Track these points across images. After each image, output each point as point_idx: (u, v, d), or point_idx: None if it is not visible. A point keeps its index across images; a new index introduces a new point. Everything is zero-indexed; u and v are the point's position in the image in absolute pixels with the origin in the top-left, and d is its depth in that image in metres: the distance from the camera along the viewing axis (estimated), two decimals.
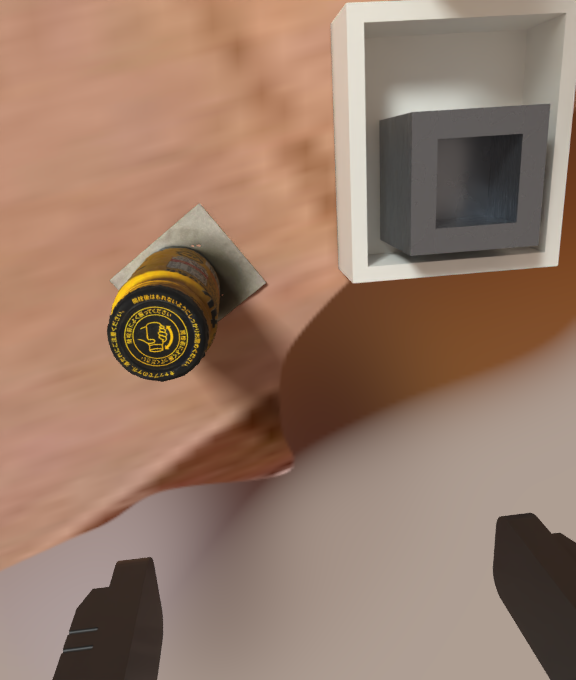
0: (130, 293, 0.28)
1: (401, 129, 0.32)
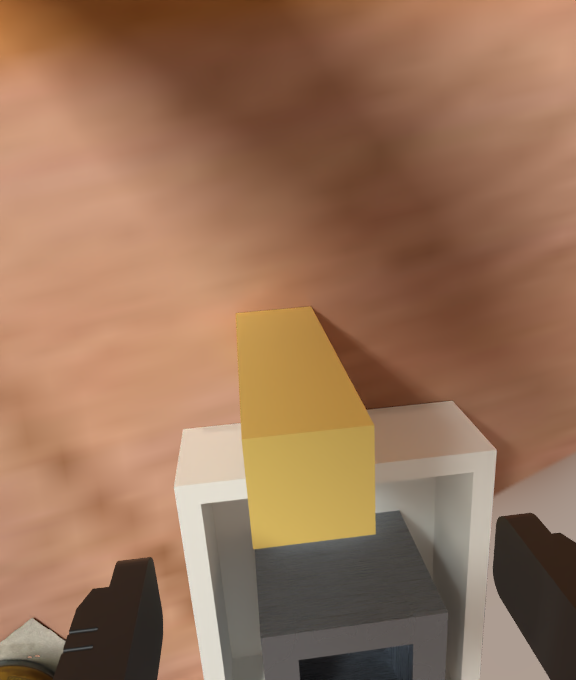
0: None
1: None
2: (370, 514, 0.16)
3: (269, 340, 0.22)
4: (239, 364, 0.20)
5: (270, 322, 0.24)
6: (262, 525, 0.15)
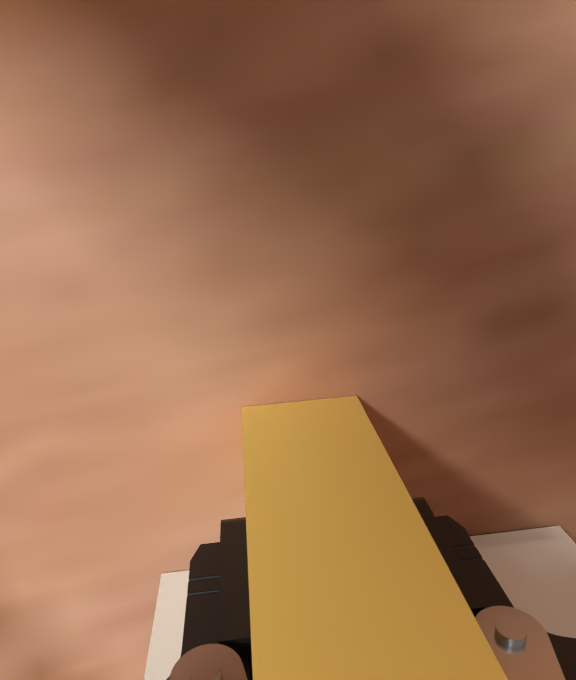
0: None
1: None
2: None
3: (300, 481, 0.13)
4: (250, 556, 0.10)
5: (297, 431, 0.15)
6: None
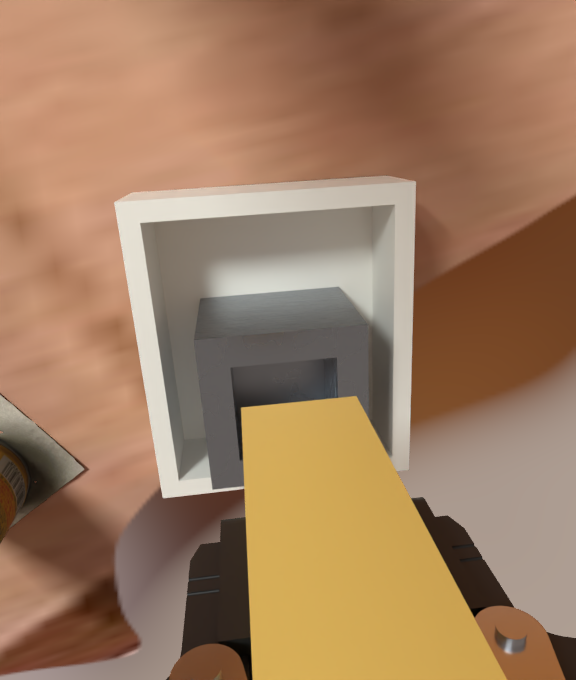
0: None
1: None
2: None
3: (299, 482, 0.13)
4: (249, 556, 0.10)
5: (297, 431, 0.15)
6: None
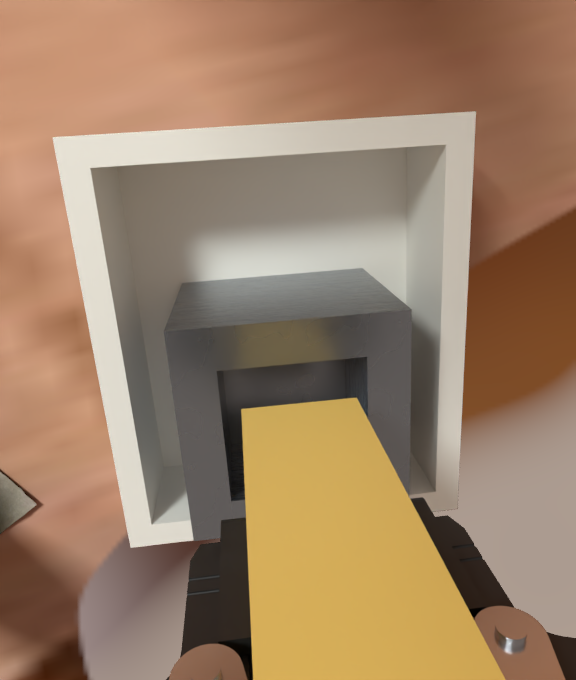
0: None
1: None
2: None
3: (300, 483, 0.13)
4: (250, 558, 0.10)
5: (297, 433, 0.15)
6: None
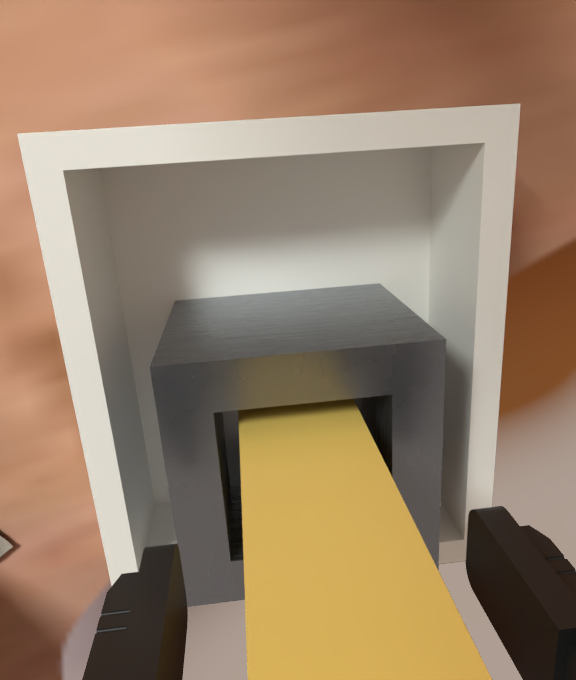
0: None
1: None
2: None
3: (286, 440, 0.15)
4: (243, 497, 0.13)
5: None
6: None
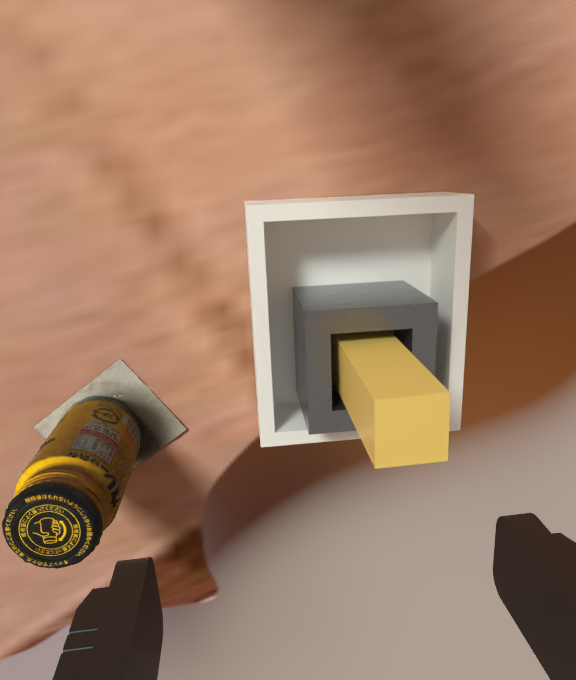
0: (24, 491, 0.29)
1: (301, 316, 0.34)
2: (445, 448, 0.26)
3: (363, 346, 0.32)
4: (351, 360, 0.30)
5: (358, 334, 0.35)
6: (381, 453, 0.26)
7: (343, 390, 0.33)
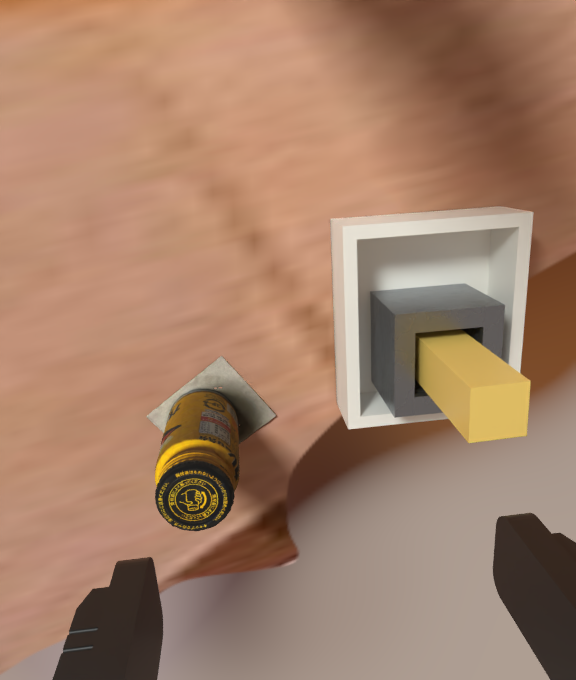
0: (173, 468, 0.36)
1: (387, 317, 0.40)
2: (525, 425, 0.32)
3: (443, 342, 0.39)
4: (437, 355, 0.36)
5: (434, 332, 0.41)
6: (474, 430, 0.32)
7: (425, 380, 0.39)
